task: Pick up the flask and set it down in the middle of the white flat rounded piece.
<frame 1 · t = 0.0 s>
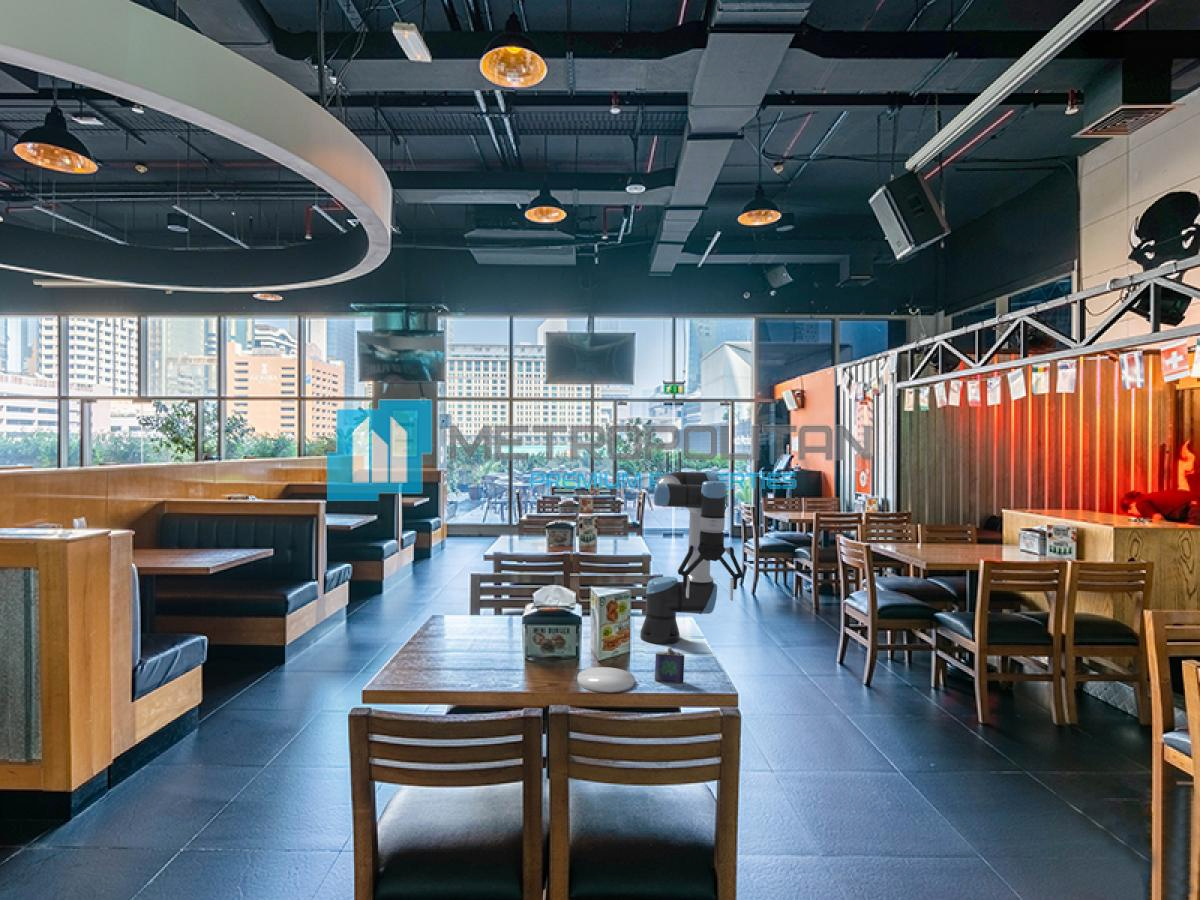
hand: (709, 598, 217), 28 cm above the table, tool pointing down, fingers open, 13 cm apart
white flat rounded piece: (605, 681, 219), on the table
flask: (668, 681, 221), on the table
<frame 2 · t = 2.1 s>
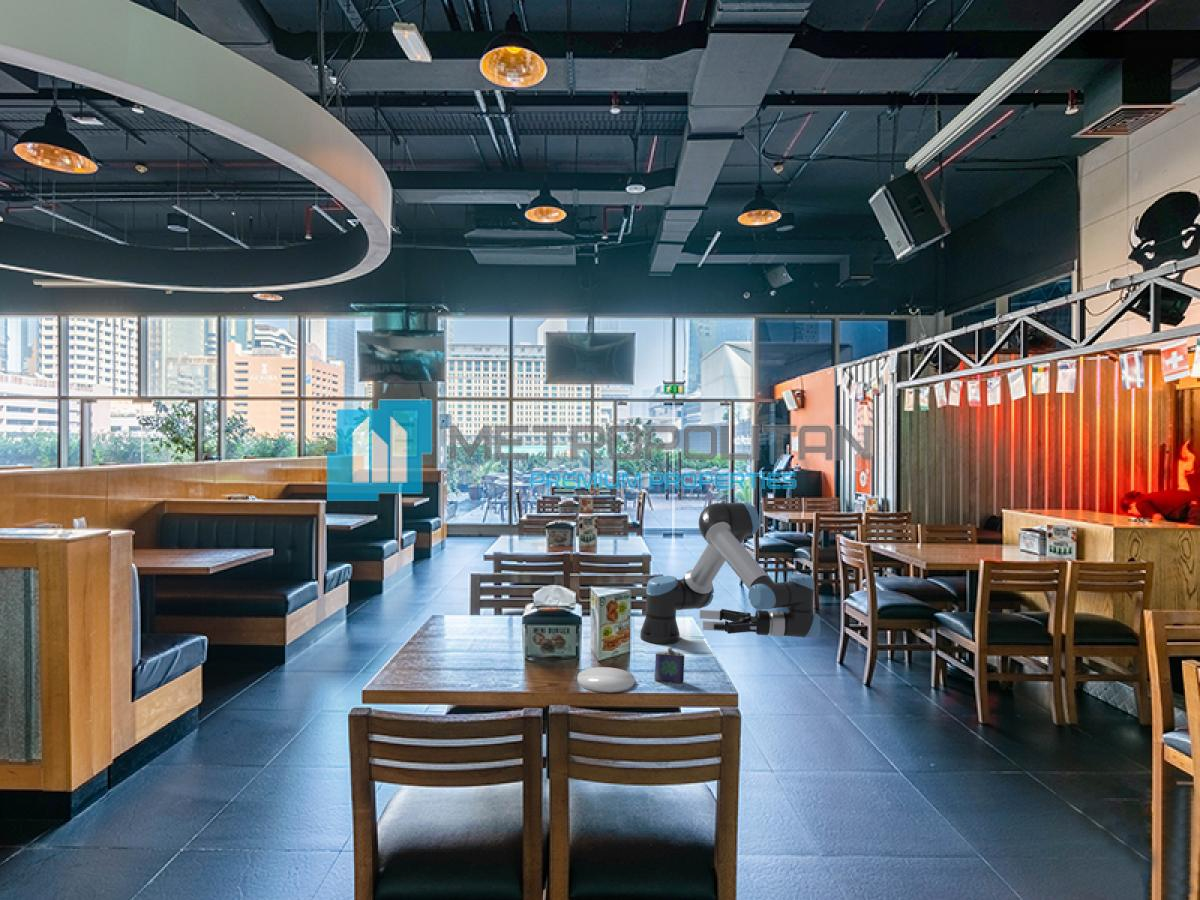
hand: (701, 619, 220), 20 cm above the table, tool horizontal, fingers open, 13 cm apart
nothing on the table moved.
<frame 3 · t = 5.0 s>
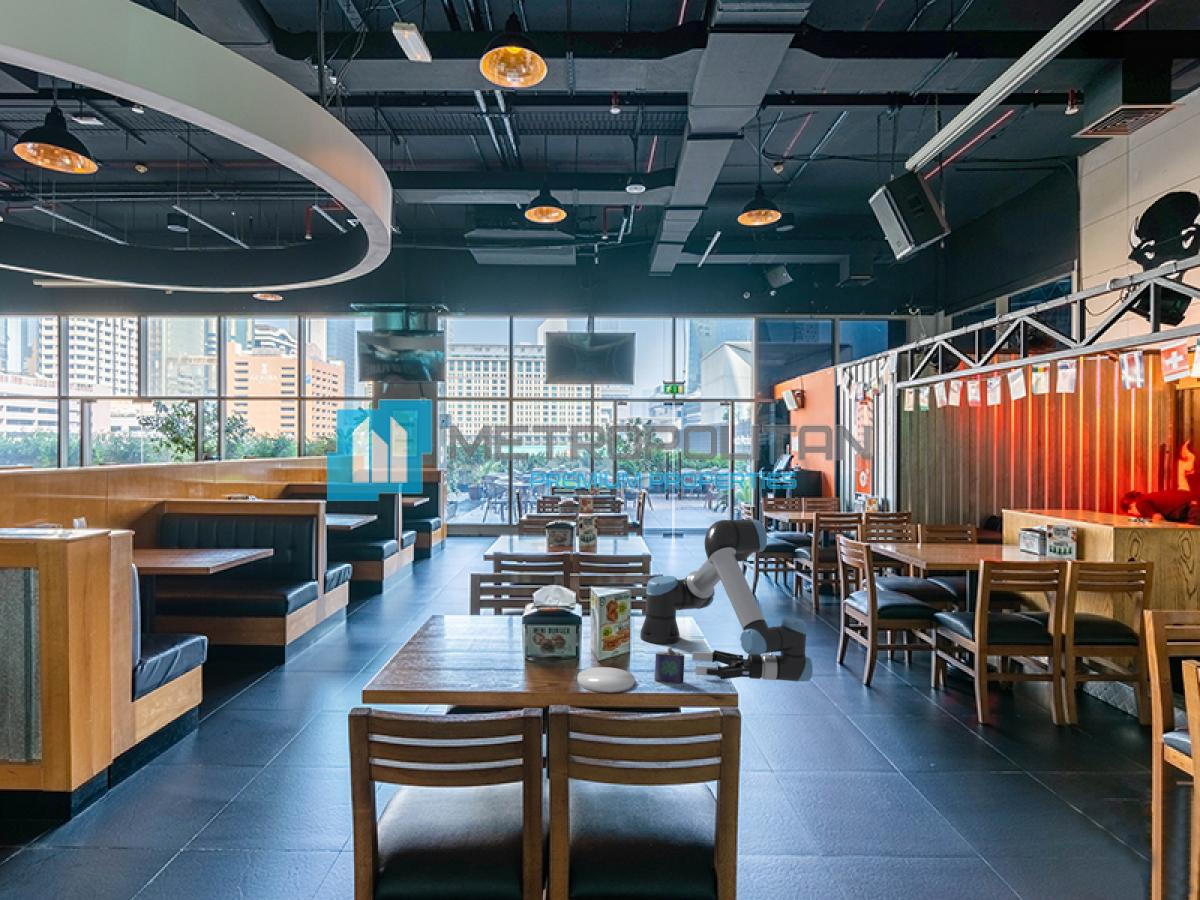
hand: (693, 662, 221), 6 cm above the table, tool horizontal, fingers open, 13 cm apart
nothing on the table moved.
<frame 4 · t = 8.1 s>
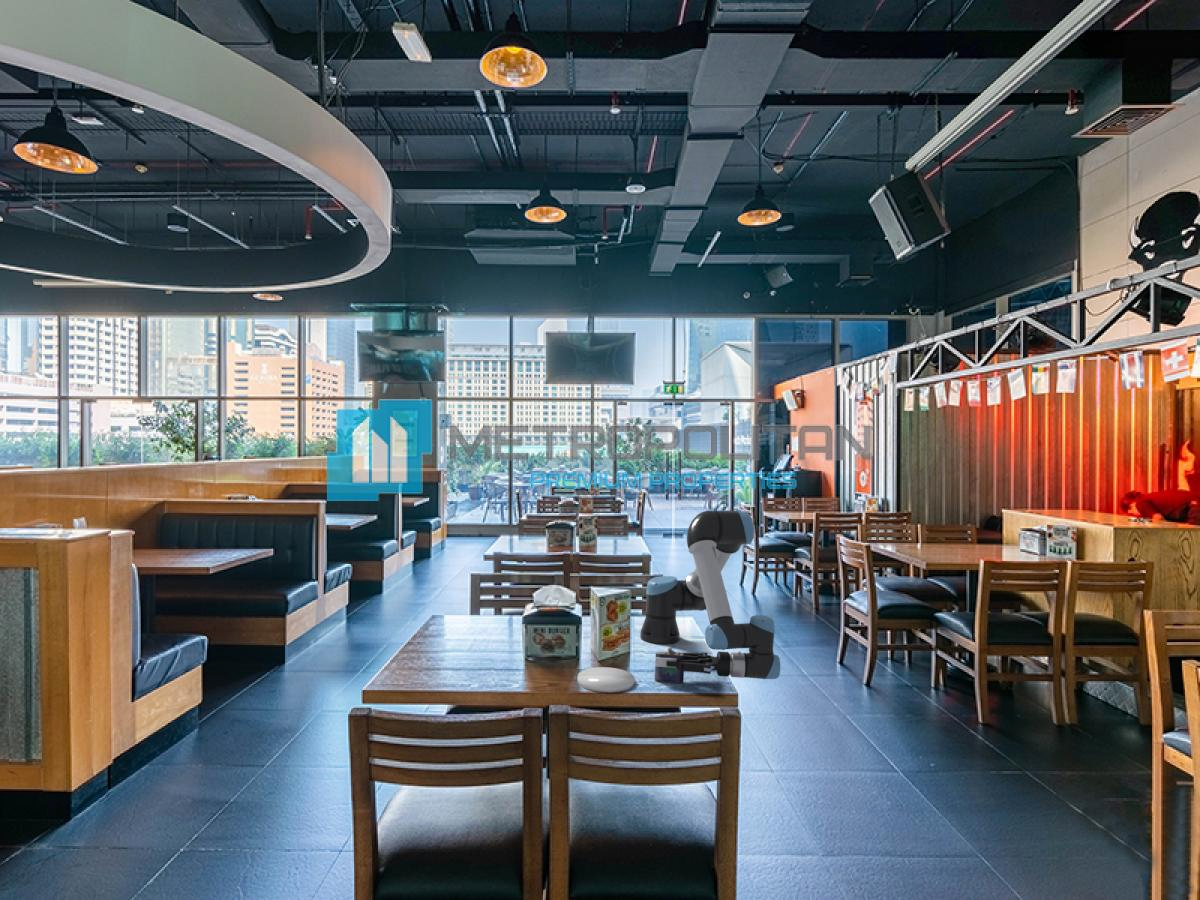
hand: (655, 659, 221), 7 cm above the table, tool horizontal, fingers closed on flask, 3 cm apart
flask: (668, 681, 221), on the table, touching gripper
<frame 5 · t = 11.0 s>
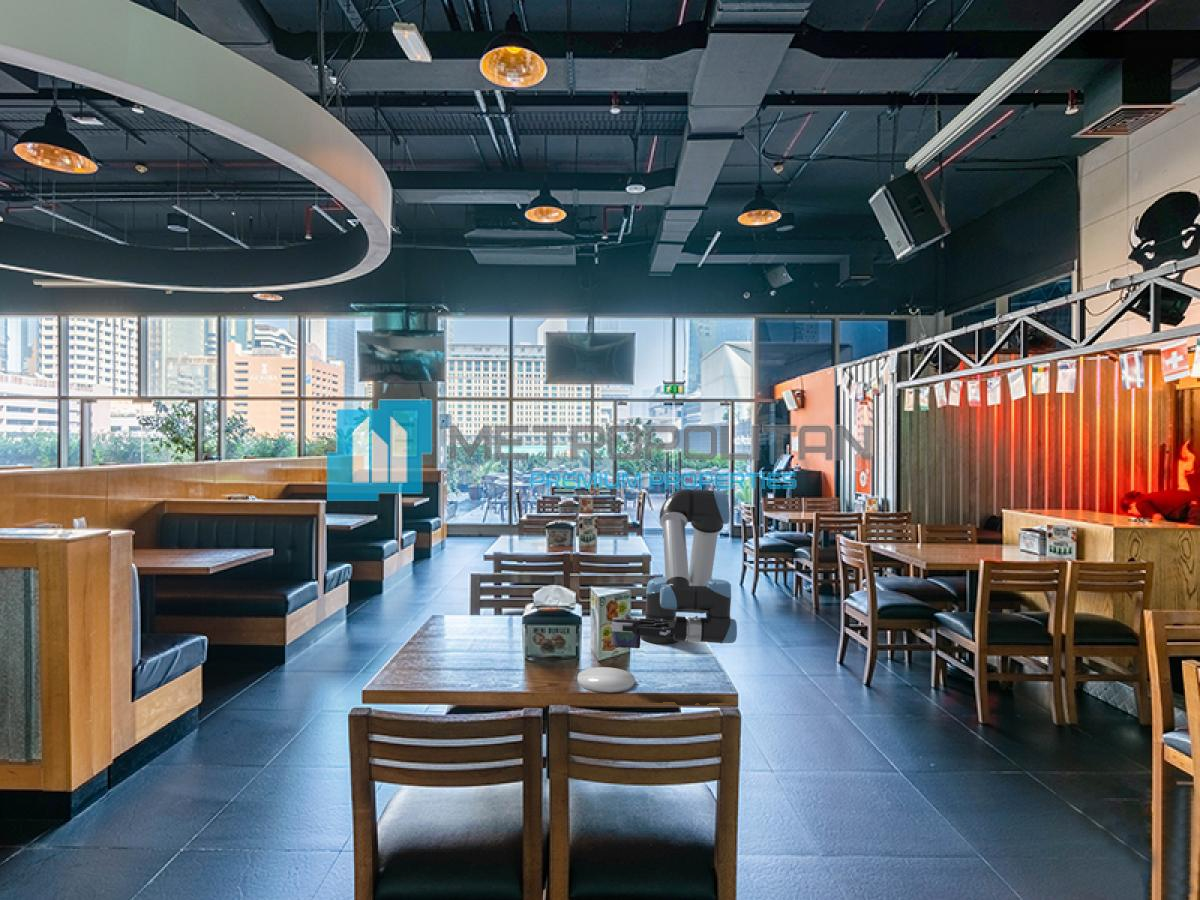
hand: (612, 625, 219), 18 cm above the table, tool horizontal, fingers closed on flask, 3 cm apart
flask: (625, 647, 219), point 11 cm above the table, touching gripper
when the fingers open (9 cm above the table, at t = 14.0 s): flask stays where it is, resting on white flat rounded piece.
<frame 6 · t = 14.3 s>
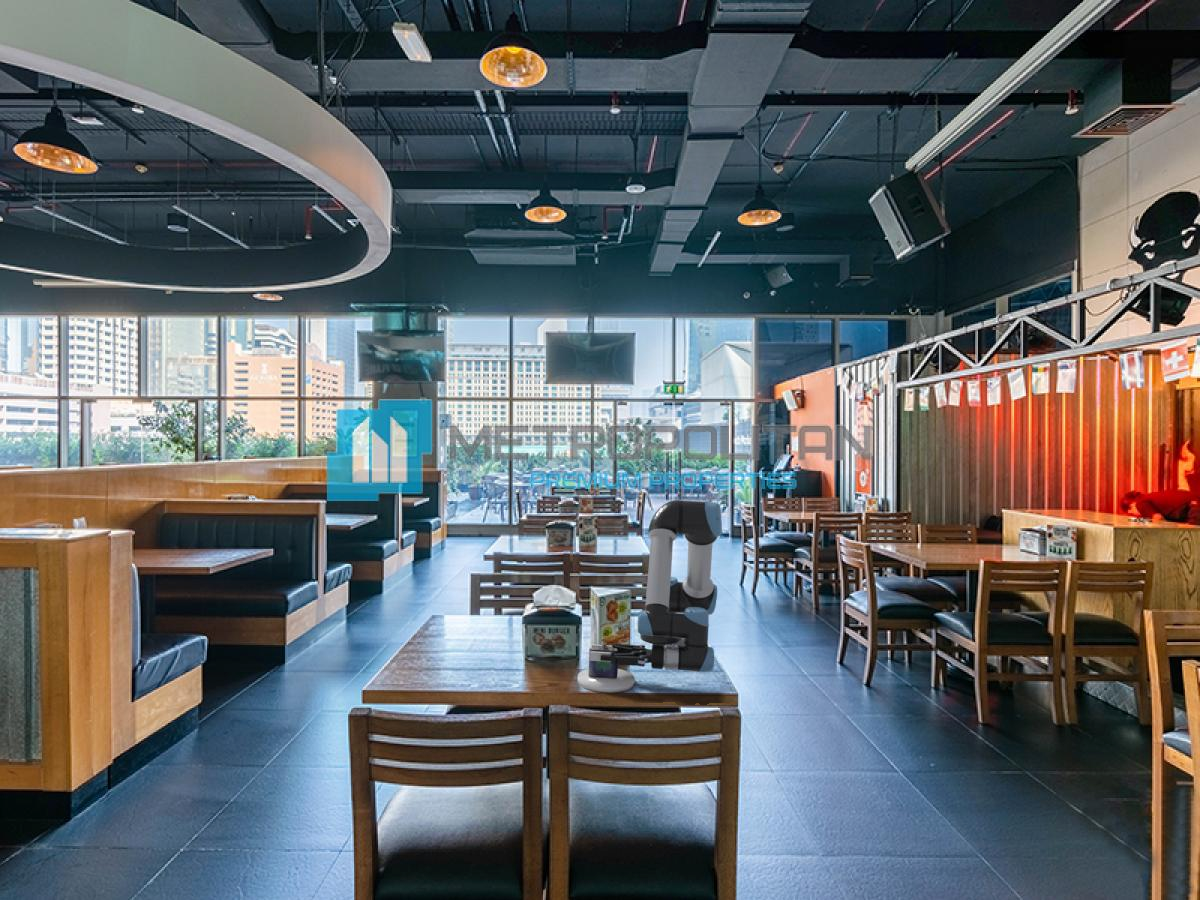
hand: (591, 652, 219), 9 cm above the table, tool horizontal, fingers open, 6 cm apart
flask: (602, 677, 219), point 1 cm above the table, touching white flat rounded piece
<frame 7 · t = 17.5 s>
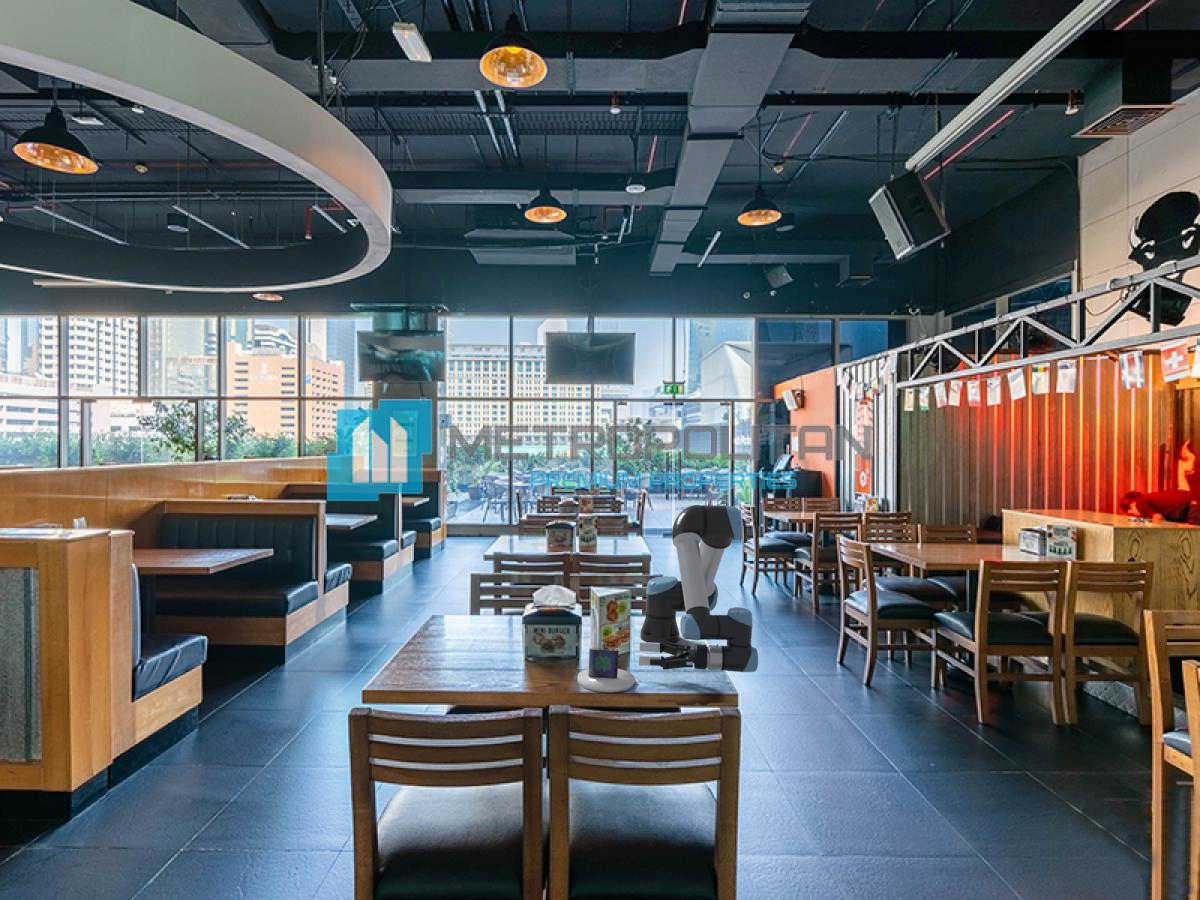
hand: (639, 653, 218), 10 cm above the table, tool horizontal, fingers open, 13 cm apart
nothing on the table moved.
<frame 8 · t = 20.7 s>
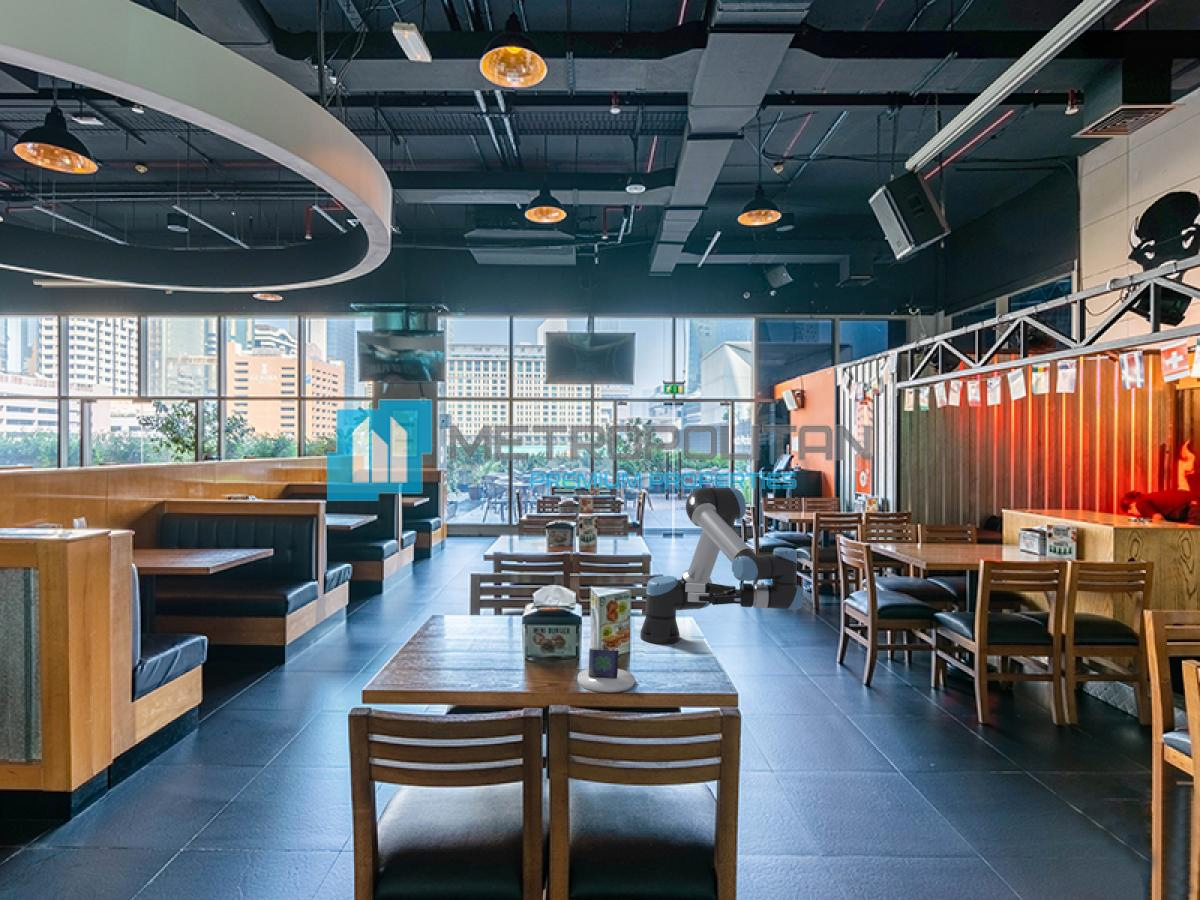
hand: (686, 592, 224), 28 cm above the table, tool horizontal, fingers open, 13 cm apart
nothing on the table moved.
at the end: flask inside the target area on the white flat rounded piece (1.0 cm from its centre), point 1.3 cm above the white flat rounded piece's base; flask tilted 2°; the gripper is holding nothing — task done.
